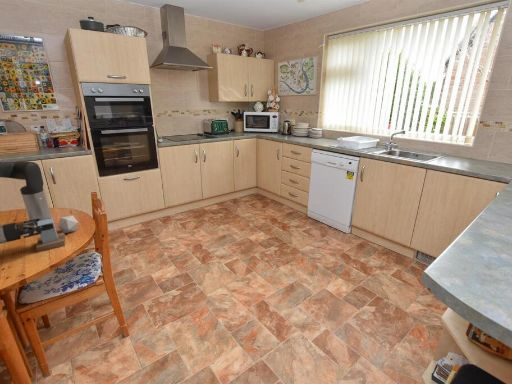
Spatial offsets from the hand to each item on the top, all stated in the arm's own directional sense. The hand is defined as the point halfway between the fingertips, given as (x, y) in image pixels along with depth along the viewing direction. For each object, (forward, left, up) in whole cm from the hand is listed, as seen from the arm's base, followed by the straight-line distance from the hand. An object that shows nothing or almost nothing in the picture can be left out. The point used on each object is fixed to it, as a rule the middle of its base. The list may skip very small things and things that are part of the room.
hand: (52, 223), depth 123 cm
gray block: (0, -2, -8) cm, 8 cm away
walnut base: (0, -2, -11) cm, 11 cm away
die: (-11, +4, -10) cm, 15 cm away
